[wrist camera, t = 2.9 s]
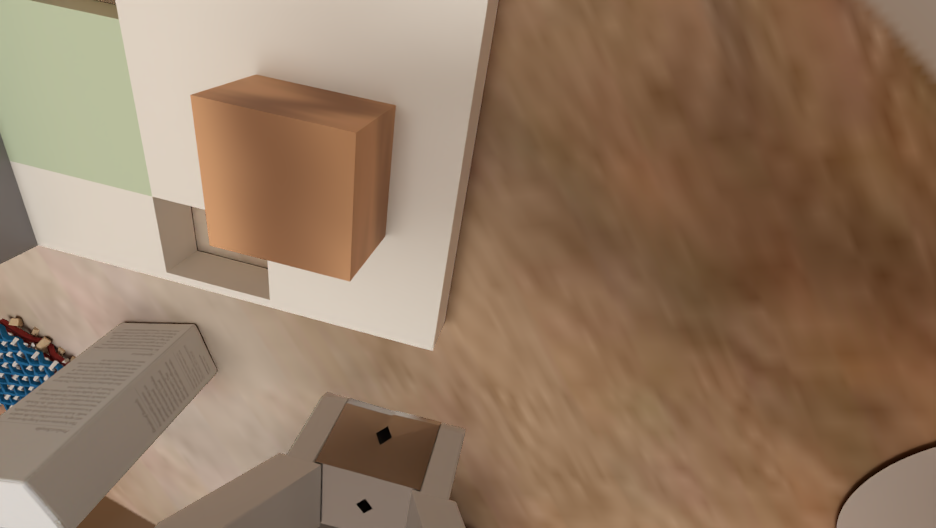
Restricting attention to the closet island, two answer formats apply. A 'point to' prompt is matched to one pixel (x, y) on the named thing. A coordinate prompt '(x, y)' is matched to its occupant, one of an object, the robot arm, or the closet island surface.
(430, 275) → the trap deck
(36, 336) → the woven mat
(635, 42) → the closet island surface
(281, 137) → the block
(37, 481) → the skincare box
